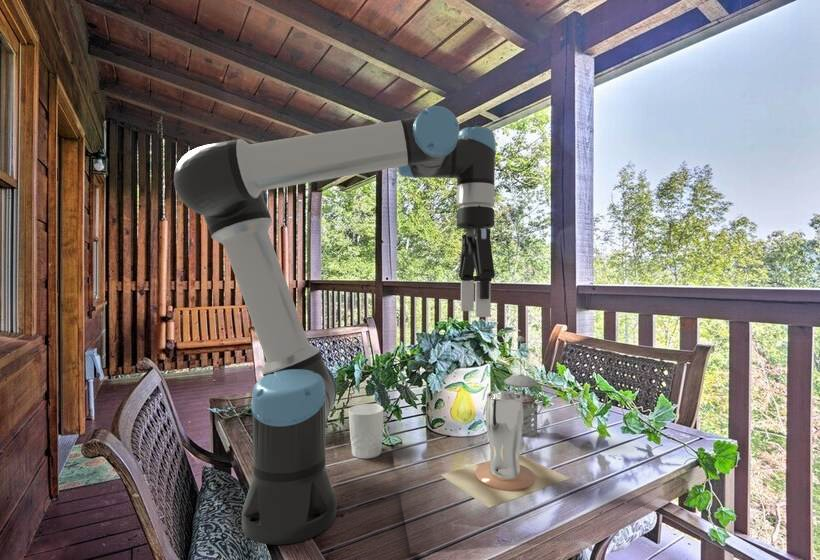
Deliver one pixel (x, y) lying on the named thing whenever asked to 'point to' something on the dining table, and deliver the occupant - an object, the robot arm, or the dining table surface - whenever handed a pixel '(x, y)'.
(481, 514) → the dining table surface
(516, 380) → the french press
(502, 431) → the beer glass
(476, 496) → the beige mat with oval
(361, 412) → the white cup
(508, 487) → the coaster
